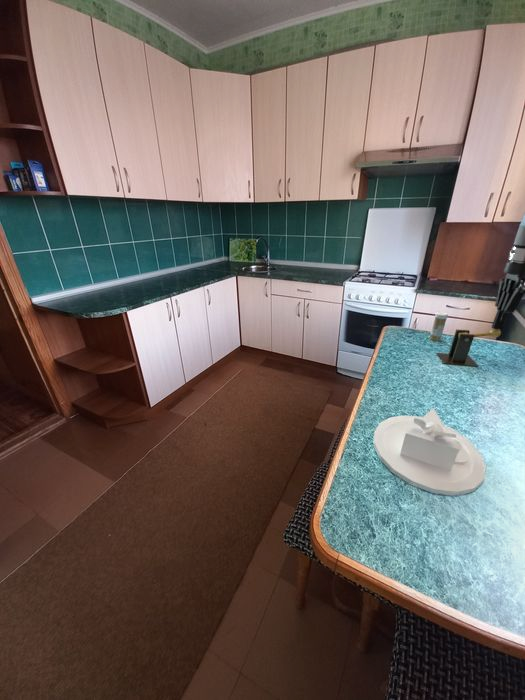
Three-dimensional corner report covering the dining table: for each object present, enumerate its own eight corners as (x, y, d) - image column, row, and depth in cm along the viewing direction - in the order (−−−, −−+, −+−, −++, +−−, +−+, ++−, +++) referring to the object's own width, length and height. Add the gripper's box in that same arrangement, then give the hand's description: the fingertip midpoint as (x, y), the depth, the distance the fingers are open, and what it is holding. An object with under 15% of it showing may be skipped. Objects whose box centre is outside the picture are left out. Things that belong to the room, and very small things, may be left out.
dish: (490, 514, 58) (511, 476, 53) (363, 467, 70) (370, 431, 64) (479, 437, 78) (494, 403, 72) (381, 409, 89) (387, 378, 83)
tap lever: (497, 334, 107) (498, 326, 106) (502, 338, 105) (503, 330, 103) (457, 339, 111) (457, 331, 110) (460, 342, 108) (461, 335, 107)
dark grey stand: (467, 358, 116) (477, 328, 111) (477, 369, 109) (488, 338, 103) (435, 355, 119) (443, 326, 113) (442, 366, 111) (451, 336, 105)
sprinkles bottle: (426, 339, 133) (434, 311, 127) (437, 339, 133) (444, 311, 127) (431, 343, 129) (439, 315, 123) (442, 343, 129) (450, 315, 123)
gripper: (498, 257, 101) (477, 321, 111) (519, 264, 89) (493, 334, 100) (523, 258, 99) (499, 322, 110) (548, 265, 88) (518, 336, 99)
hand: (496, 328), depth 105 cm, fingers closed
